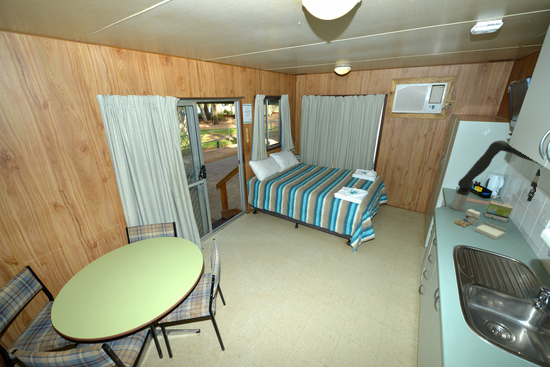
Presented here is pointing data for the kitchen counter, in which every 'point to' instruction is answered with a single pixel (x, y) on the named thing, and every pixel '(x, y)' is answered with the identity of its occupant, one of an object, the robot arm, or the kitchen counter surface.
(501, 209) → the tea box
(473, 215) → the ink box
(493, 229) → the dock
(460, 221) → the pallet
